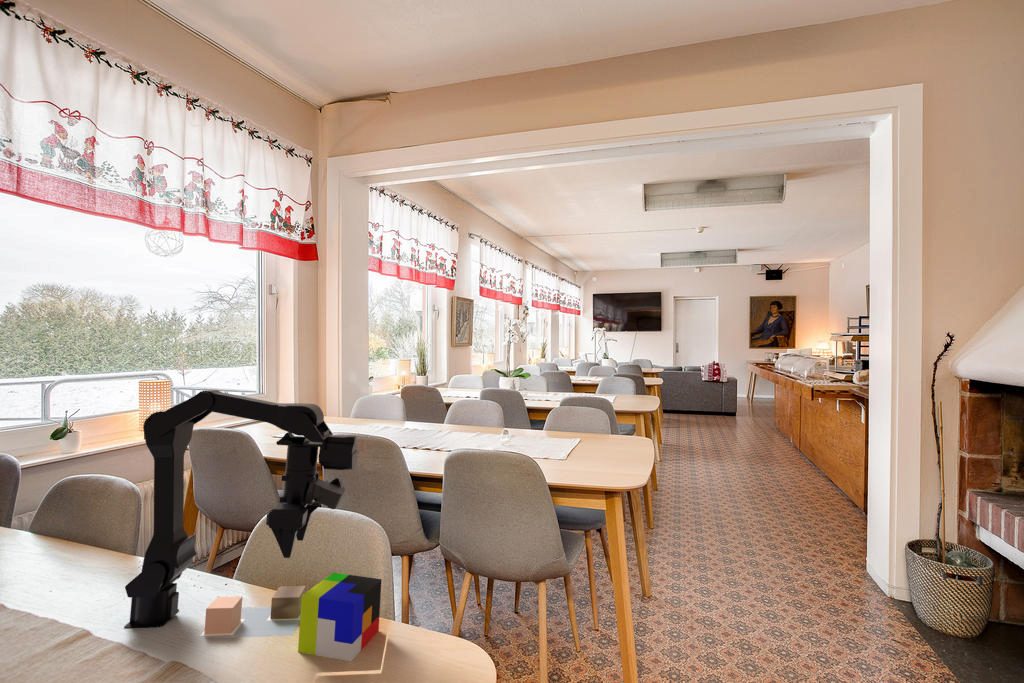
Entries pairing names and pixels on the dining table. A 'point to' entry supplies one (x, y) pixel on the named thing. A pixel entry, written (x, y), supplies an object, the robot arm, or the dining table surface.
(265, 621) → the board
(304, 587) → the block
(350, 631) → the puzzle toy
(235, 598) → the terracotta block
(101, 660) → the dining table surface
